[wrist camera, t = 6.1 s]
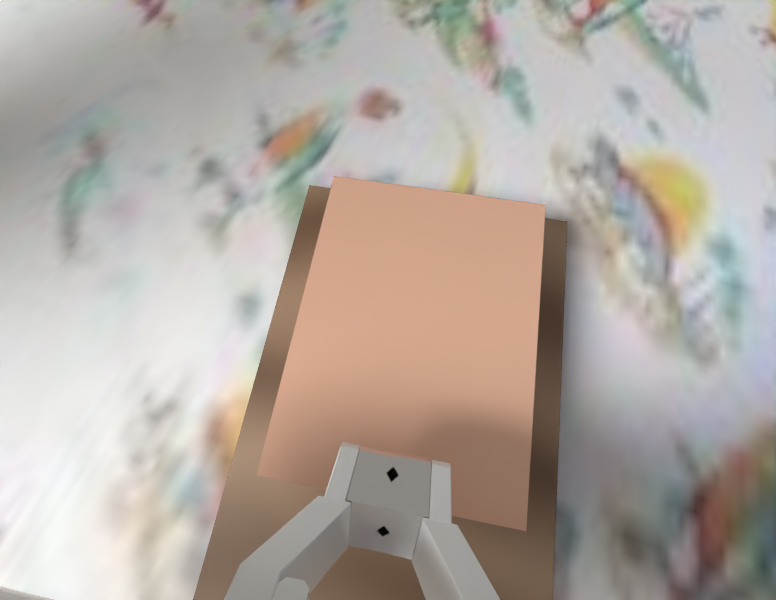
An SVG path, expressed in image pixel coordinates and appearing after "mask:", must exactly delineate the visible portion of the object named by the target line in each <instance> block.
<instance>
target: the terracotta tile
mask: <svg viewBox="0 0 776 600" xmlns="http://www.w3.org/2000/svg"><path fill="white" fill-rule="evenodd" d="M545 207H546V205H542V204H534V203H527V202H520V201H512V200H505V199H498V198H491V197H483V196H476V195H469V194H461V193H454V192H447V191H440V190H432V189H425V188H418V187H410V186H403V185H396V184H389V183H381V182H374V181H367V180H359V179H352V178H345V177H338V176H334V178H333V182H332V186H331V190H330V194H329V197H328V201H327V205H326V209H325V213H324V217H323V221H322V224H321V228H320V232H319V236H318V240H317V244H316V247H315V251H314V255H313V259H312V263H311V267H310V271H309V274H308V278H307V282H306V286H305V290H304V294H303V297H302V301H301V305H300V309H299V313H298V317H297V321H296V324H295V328H294V332H293V336H292V340H291V344H290V347H289V351H288V355H287V359H286V363H285V367H284V371H283V374H282V378H281V382H280V386H279V390H278V394H277V397H276V401H275V405H274V409H273V413H272V417H271V421H270V424H269V428H268V432H267V436H266V440H265V444H264V447H263V451H262V455H261V459H260V463H259V467H258V471H257V474H256V475H258V476H262V477H267V478H272V479H277V480H282V481H286V482H291V483H296V484H301V485H306V486H310V487H315V488H320V489H325V490H326V489H327V486H328V483H329V480H330V477H331V474H332V471H333V468H334V465H335V461H336V458H337V455H338V452H339V449H340V446H341V445H342V443H343V442H346V443H351V444H356V445H360V446H365V447H369V448H374V449H378V450H383V451H387V452H392V453H400V454H406V455H411V456H417V457H422V458H428V459H431V460H436V461H441V462H446V463H450V466H451V508H452V516H455V517H460V518H465V519H469V520H474V521H479V522H484V523H489V524H493V525H498V526H503V527H508V528H513V529H518V530H522V531H526V526H527V509H528V492H529V475H530V459H531V442H532V425H533V408H534V391H535V375H536V358H537V341H538V324H539V307H540V291H541V274H542V257H543V240H544V223H545Z"/></svg>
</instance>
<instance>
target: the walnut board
mask: <svg viewBox="0 0 776 600" xmlns="http://www.w3.org/2000/svg"><path fill="white" fill-rule="evenodd" d="M330 190H331V188H325V187H318V186H311V185H309V189H308V192H307V196H306V200H305V203H304V207H303V210H302V214H301V217H300V221H299V224H298V228H297V232H296V235H295V239H294V242H293V246H292V249H291V253H290V257H289V260H288V264H287V267H286V271H285V274H284V278H283V281H282V285H281V289H280V292H279V296H278V299H277V303H276V306H275V310H274V314H273V317H272V321H271V324H270V328H269V331H268V335H267V338H266V342H265V346H264V349H263V353H262V356H261V360H260V363H259V367H258V371H257V374H256V378H255V381H254V385H253V388H252V392H251V395H250V399H249V403H248V406H247V410H246V413H245V417H244V420H243V424H242V428H241V431H240V435H239V438H238V442H237V445H236V449H235V452H234V456H233V460H232V463H231V467H230V470H229V474H228V477H227V481H226V485H225V488H224V492H223V495H222V499H221V502H220V506H219V509H218V513H217V517H216V520H215V524H214V527H213V531H212V534H211V538H210V542H209V545H208V549H207V552H206V556H205V559H204V563H203V567H202V570H201V574H200V577H199V581H198V584H197V588H196V591H195V595H194V599H193V600H224V598H225V596H226V594H227V592H228V590H229V587H230V585H231V583H232V581H233V579H234V577H235V575H236V572H237V570H238V568H239V566H240V564H241V563H242V562H243V561H244V560H245V559H247V558H248V557H249V556H250V555H251V554H252V553H253V552H255V551H256V550H257V549H258V548H259V547H260V546H261V545H263V544H264V543H265V542H266V541H267V540H268V539H269V538H271V537H272V536H273V535H274V534H275V533H276V532H278V531H279V530H280V529H281V528H282V527H283V526H284V525H286V524H287V523H288V522H289V521H290V520H291V519H292V518H294V517H295V516H296V515H297V514H298V513H299V512H300V511H302V510H303V509H304V508H305V507H306V506H307V505H309V504H310V503H311V502H312V501H313V500H314V499H315V498H317V497H318V496H325V492H326V490H325V489H320V488H315V487H310V486H306V485H301V484H296V483H291V482H286V481H282V480H277V479H272V478H267V477H262V476H258V475H256V474H257V471H258V467H259V463H260V459H261V455H262V451H263V447H264V444H265V440H266V436H267V432H268V428H269V424H270V421H271V417H272V413H273V409H274V405H275V401H276V397H277V394H278V390H279V386H280V382H281V378H282V374H283V371H284V367H285V363H286V359H287V355H288V351H289V347H290V344H291V340H292V336H293V332H294V328H295V324H296V321H297V317H298V313H299V309H300V305H301V301H302V297H303V294H304V290H305V286H306V282H307V278H308V274H309V271H310V267H311V263H312V259H313V255H314V251H315V247H316V244H317V240H318V236H319V232H320V228H321V224H322V221H323V217H324V213H325V209H326V205H327V201H328V197H329V194H330ZM566 242H567V221H561V220H553V219H546V218H545V223H544V240H543V257H542V274H541V291H540V307H539V324H538V341H537V358H536V375H535V391H534V408H533V425H532V442H531V459H530V475H529V492H528V509H527V526H526V531H522V530H518V529H513V528H508V527H503V526H498V525H493V524H489V523H484V522H479V521H474V520H469V519H465V518H460V517H455V516H452V524H456V525H458V527H459V528H460V530H461V532H462V534H463V535H464V537H465V539H466V541H467V542H468V544H469V546H470V548H471V549H472V551H473V553H474V555H475V556H476V558H477V560H478V562H479V563H480V565H481V567H482V569H483V570H484V572H485V574H486V576H487V577H488V579H489V581H490V583H491V584H492V586H493V588H494V590H495V591H496V593H497V595H498V597H499V598H500V600H553V575H554V550H555V524H556V498H557V473H558V447H559V422H560V396H561V370H562V345H563V319H564V294H565V268H566ZM309 600H426V599H425V596H424V593H423V591H422V588H421V585H420V583H419V580H418V577H417V575H416V572H415V569H414V566H413V564H412V560H411V559H407V558H403V557H399V556H395V555H391V554H387V553H383V552H379V551H373V550H368V549H363V548H357V547H352V546H347V549H346V550H345V551H344V552H343V554H342V555H341V556H340V557H339V559H338V560H337V561H336V562H335V563H334V565H333V566H332V567H331V568H330V569H329V571H328V572H327V573H326V574H325V575H324V577H323V578H322V579H321V580H320V581H319V583H318V584H317V585H316V586H315V587H314V589H313V590H312V591H311V592H310V593H309Z"/></svg>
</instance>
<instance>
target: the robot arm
mask: <svg viewBox="0 0 776 600" xmlns="http://www.w3.org/2000/svg"><path fill="white" fill-rule="evenodd" d="M347 546H352V547H357V548H363V549H368V550H373V551H379V552H383V553H387V554H391V555H395V556H399V557H403V558H407V559H411V560H412V564H413V566H414V569H415V572H416V575H417V577H418V580H419V583H420V585H421V588H422V591H423V593H424V596H425V599H426V600H500V598H499V597H498V595H497V593H496V591H495V590H494V588H493V586H492V584H491V583H490V581H489V579H488V577H487V576H486V574H485V572H484V570H483V569H482V567H481V565H480V563H479V562H478V560H477V558H476V556H475V555H474V553H473V551H472V549H471V548H470V546H469V544H468V542H467V541H466V539H465V537H464V535H463V534H462V532H461V530H460V528H459V527H458V525H456V524H452V508H451V466H450V463H446V462H441V461H436V460H431V459H428V458H422V457H417V456H411V455H406V454H400V453H392V452H387V451H383V450H378V449H374V448H369V447H365V446H360V445H356V444H351V443H346V442H343V443H342V445H341V446H340V449H339V452H338V455H337V458H336V461H335V465H334V468H333V471H332V474H331V477H330V480H329V483H328V486H327V489H326V492H325V496H318V497H317V498H315V499H314V500H313V501H312V502H311V503H310V504H309V505H307V506H306V507H305V508H304V509H303V510H302V511H300V512H299V513H298V514H297V515H296V516H295V517H294V518H292V519H291V520H290V521H289V522H288V523H287V524H286V525H284V526H283V527H282V528H281V529H280V530H279V531H278V532H276V533H275V534H274V535H273V536H272V537H271V538H269V539H268V540H267V541H266V542H265V543H264V544H263V545H261V546H260V547H259V548H258V549H257V550H256V551H255V552H253V553H252V554H251V555H250V556H249V557H248V558H247V559H245V560H244V561H243V562H242V563H241V564H240V566H239V568H238V570H237V572H236V575H235V577H234V579H233V581H232V583H231V585H230V587H229V590H228V592H227V594H226V596H225V598H224V600H309V593H310V592H311V591H312V590H313V589H314V587H315V586H316V585H317V584H318V583H319V581H320V580H321V579H322V578H323V577H324V575H325V574H326V573H327V572H328V571H329V569H330V568H331V567H332V566H333V565H334V563H335V562H336V561H337V560H338V559H339V557H340V556H341V555H342V554H343V552H344V551H345V550H346V549H347ZM0 600H53V599H49V598H45V597H40V596H36V595H32V594H28V593H24V592H20V591H16V590H12V589H8V588H4V587H0Z"/></svg>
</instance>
